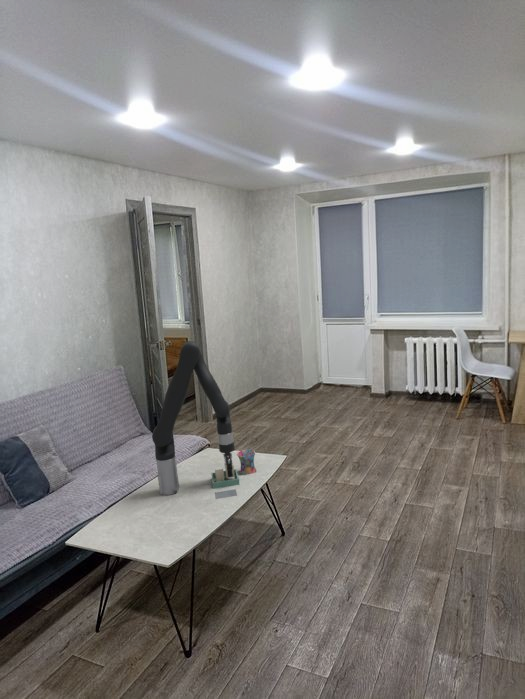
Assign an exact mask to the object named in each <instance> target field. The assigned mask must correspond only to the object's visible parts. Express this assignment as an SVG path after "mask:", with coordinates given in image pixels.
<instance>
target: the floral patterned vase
mask: <svg viewBox="0 0 525 699" xmlns="http://www.w3.org/2000/svg"><path fill="white" fill-rule="evenodd" d="M236 455H237V457H238V459H239V463H240V470H239V473H240V474H241V475H250V474H254V473H256V472H257V468H256V467H255V462H254V461H255V455H256V450H253V449H244V450H243V449H242V450H240V451H238V452H237V453H236Z"/></svg>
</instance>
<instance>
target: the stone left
mask: <svg viewBox="0 0 525 699" xmlns="http://www.w3.org/2000/svg"><path fill="white" fill-rule="evenodd" d="M224 471H225V470H224V468H221V469H215V470H214V473H215V475H216V479H215V482H219V481H226V480H225V477H224Z"/></svg>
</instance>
